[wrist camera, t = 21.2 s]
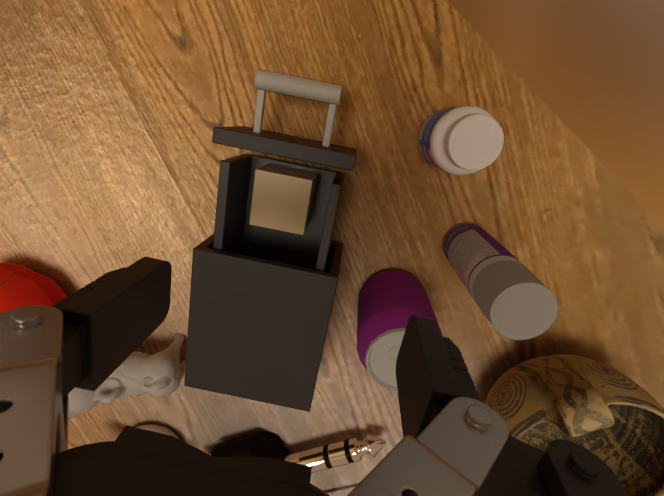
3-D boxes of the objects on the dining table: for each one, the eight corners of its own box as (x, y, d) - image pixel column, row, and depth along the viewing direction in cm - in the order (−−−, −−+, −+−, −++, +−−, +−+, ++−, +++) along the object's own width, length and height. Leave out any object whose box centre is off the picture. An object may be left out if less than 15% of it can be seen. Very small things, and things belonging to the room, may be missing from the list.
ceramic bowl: (633, 435, 45) (757, 577, 31) (498, 472, 49) (554, 615, 35) (586, 286, 40) (712, 377, 25) (437, 340, 43) (474, 447, 29)
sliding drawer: (249, 71, 34) (218, 57, 27) (368, 95, 34) (370, 87, 27) (230, 252, 40) (201, 281, 33) (331, 273, 40) (325, 306, 33)
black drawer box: (230, 220, 40) (193, 248, 31) (343, 243, 40) (338, 278, 31) (219, 332, 45) (184, 385, 36) (319, 353, 45) (309, 411, 36)
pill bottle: (407, 151, 36) (423, 161, 27) (435, 98, 35) (461, 90, 26) (455, 175, 37) (487, 193, 28) (485, 124, 35) (529, 124, 26)
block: (269, 162, 36) (255, 168, 31) (319, 172, 36) (312, 180, 31) (262, 211, 37) (248, 224, 33) (310, 221, 37) (303, 235, 33)
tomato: (-25, 300, 46) (-107, 338, 38) (17, 232, 43) (-63, 257, 35) (61, 361, 48) (1, 409, 40) (108, 301, 45) (53, 340, 37)
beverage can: (344, 293, 42) (338, 355, 31) (398, 253, 40) (412, 305, 29) (385, 338, 44) (394, 414, 32) (439, 303, 41) (468, 370, 30)
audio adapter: (183, 475, 46) (370, 426, 41) (200, 440, 51) (369, 392, 46) (223, 533, 49) (402, 493, 44) (236, 495, 54) (398, 455, 49)
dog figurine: (95, 330, 46) (21, 388, 36) (192, 331, 45) (144, 390, 35) (105, 365, 48) (37, 430, 38) (199, 367, 47) (155, 433, 37)
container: (495, 248, 39) (572, 320, 25) (457, 271, 40) (509, 353, 26) (472, 213, 38) (539, 267, 24) (433, 238, 39) (475, 304, 25)
